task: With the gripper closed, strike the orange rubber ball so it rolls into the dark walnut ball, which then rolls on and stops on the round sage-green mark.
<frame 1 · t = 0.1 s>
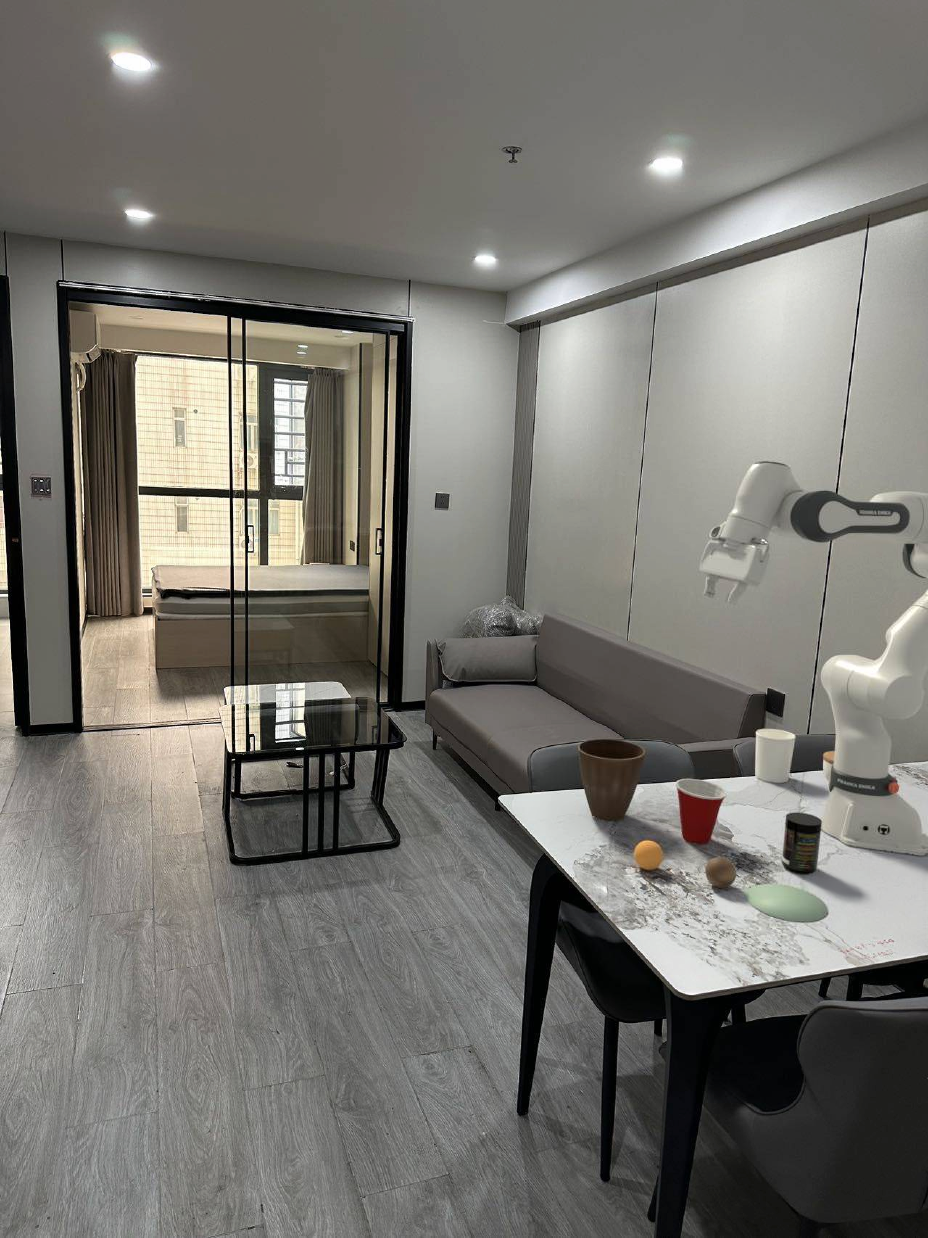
hand: (718, 600, 176), 52 cm above the table, tool tilted 20°, fingers open, 8 cm apart
plant pot: (607, 816, 196), on the table
plastic cup: (697, 840, 184), on the table
orange ball: (648, 855, 169), on the table
walnut ball: (720, 872, 162), on the table
lidded jar: (842, 786, 222), on the table
white tapered cylinder: (771, 778, 226), on the table
supplement container: (798, 869, 172), on the table
sage mark: (786, 902, 157), on the table
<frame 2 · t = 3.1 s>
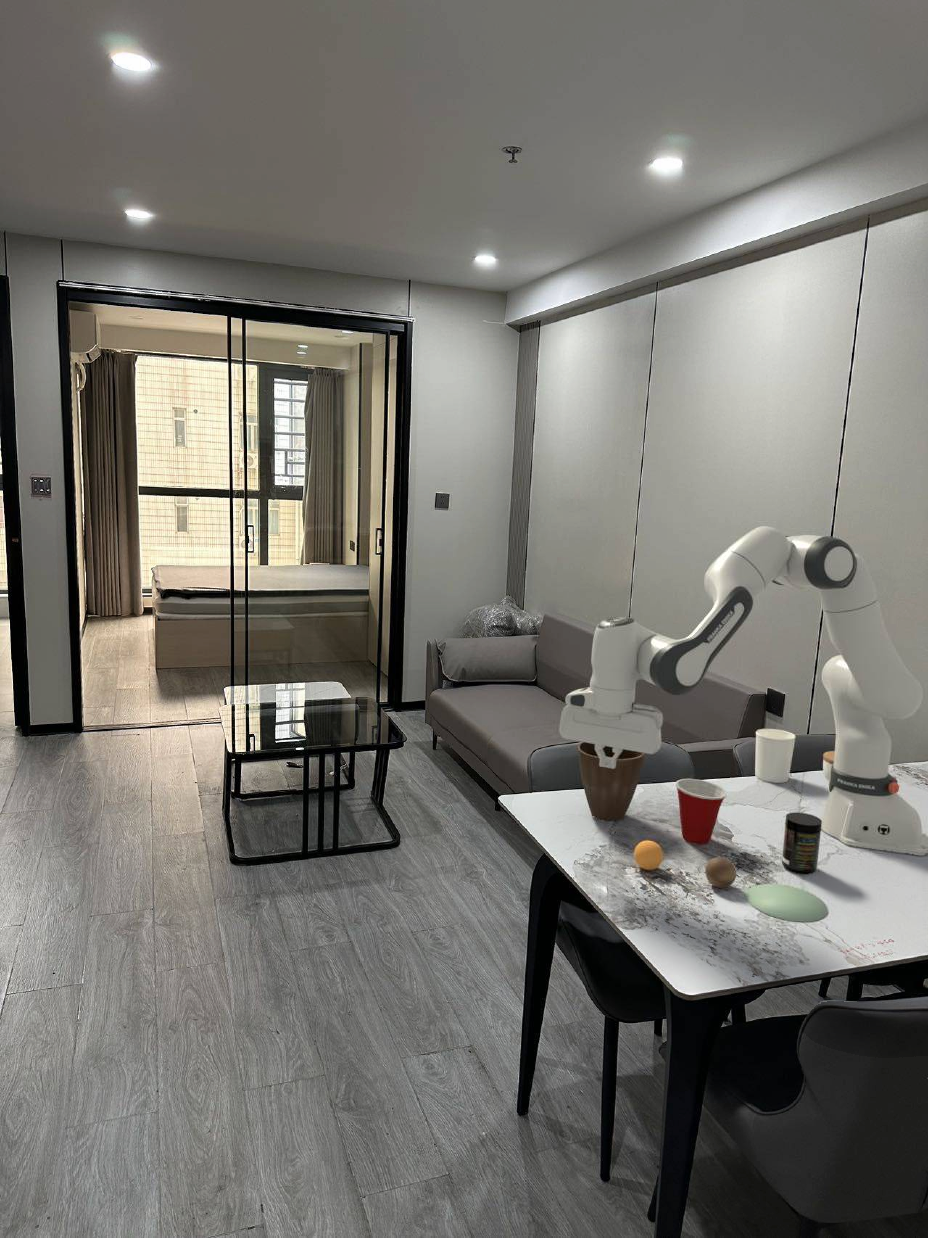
hand: (607, 766, 171), 19 cm above the table, tool pointing down, fingers closed
nothing on the table moved.
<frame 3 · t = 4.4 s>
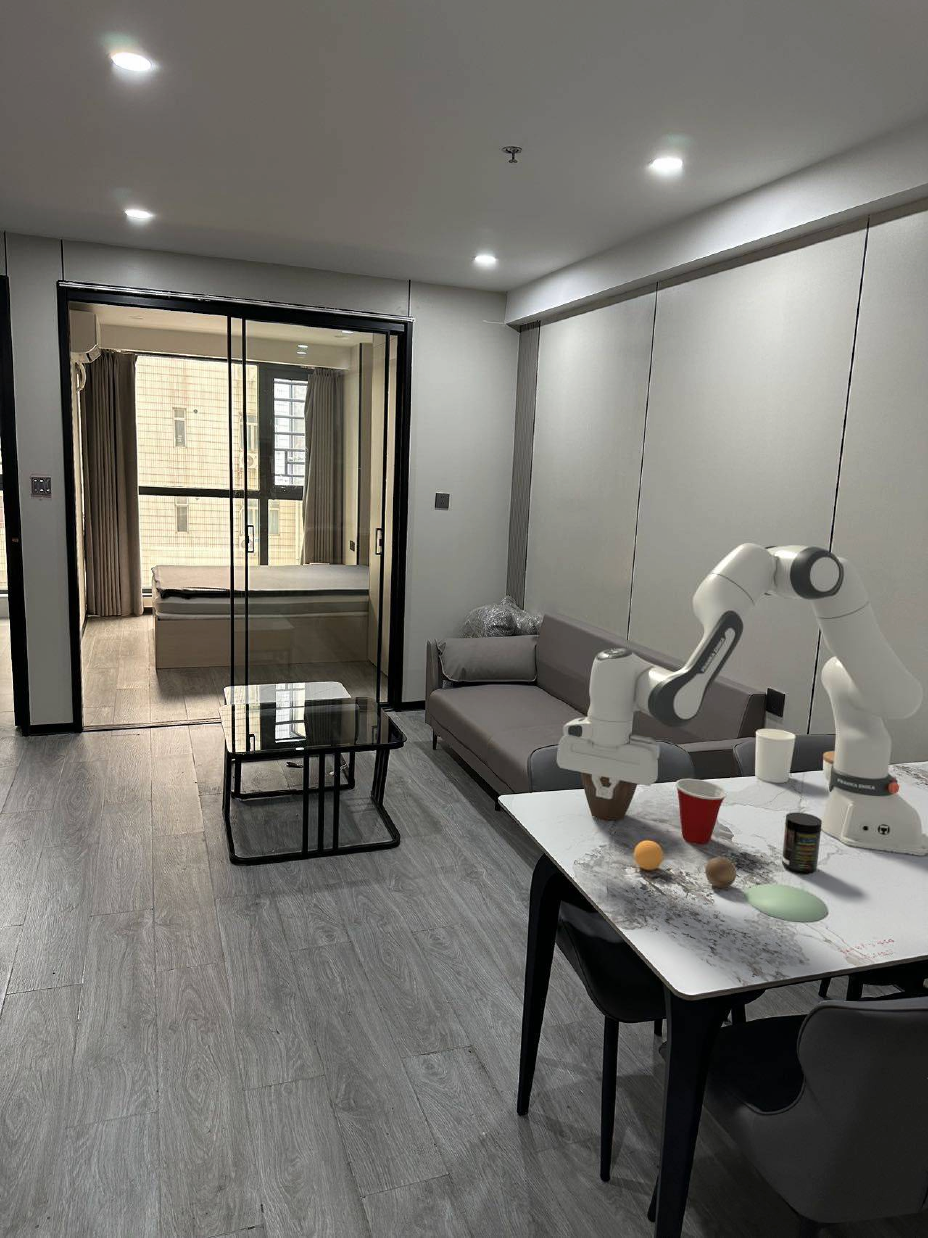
hand: (604, 797, 172), 13 cm above the table, tool pointing down, fingers closed
nothing on the table moved.
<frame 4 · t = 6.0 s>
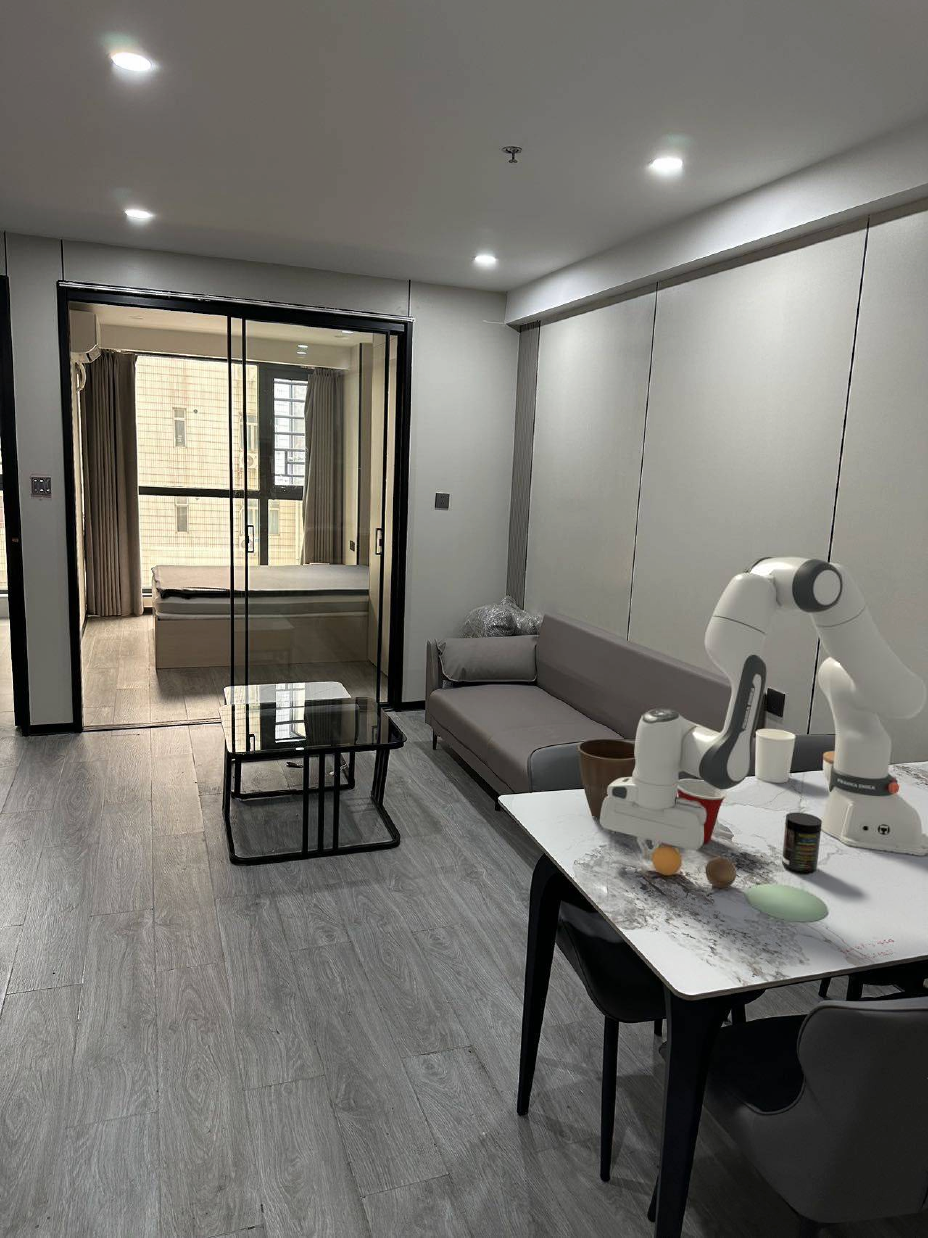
hand: (648, 859, 169), 2 cm above the table, tool pointing down, fingers closed
orange ball: (666, 860, 167), on the table, touching gripper
everything else where it was.
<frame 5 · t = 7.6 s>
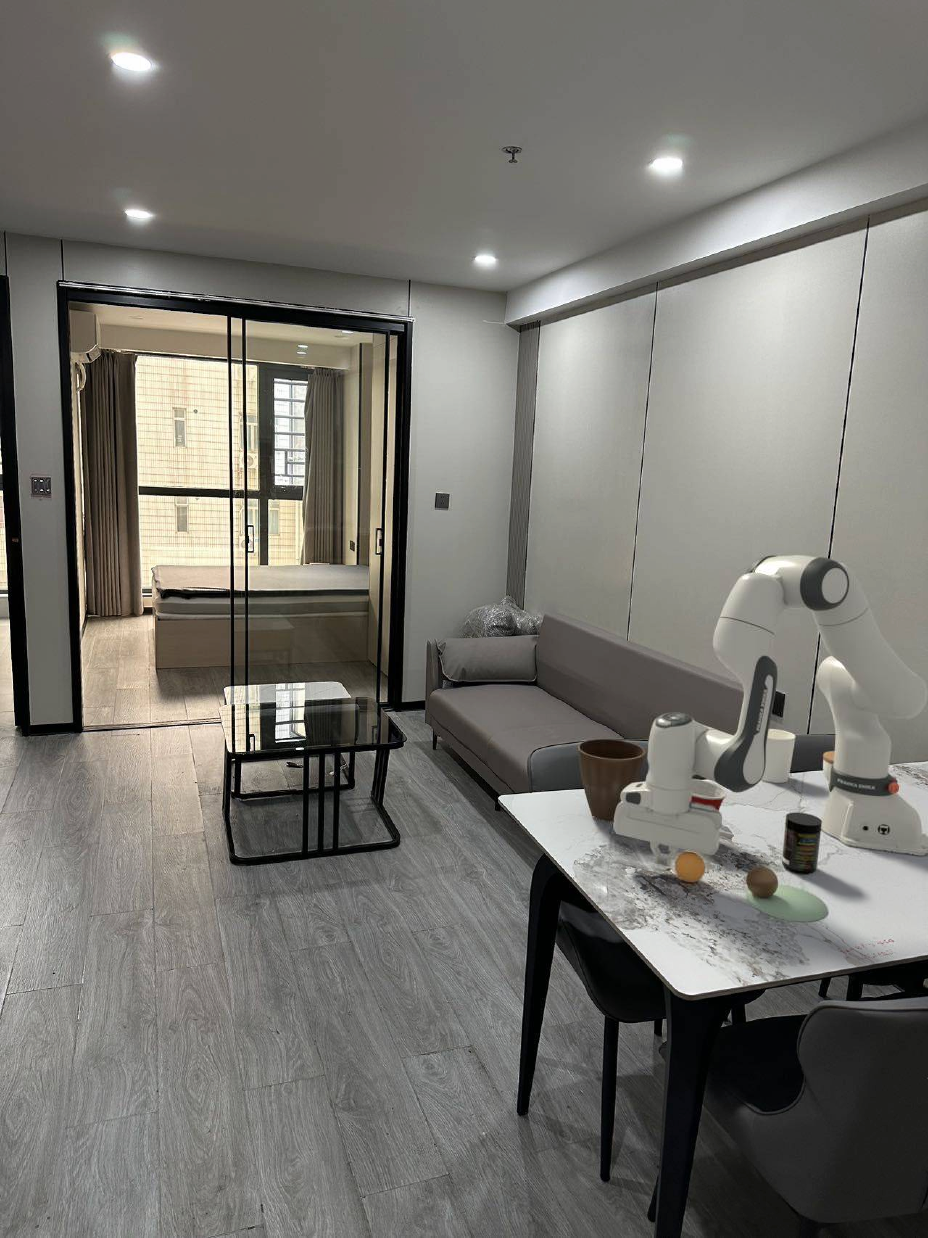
hand: (663, 864, 167), 2 cm above the table, tool pointing down, fingers closed
orange ball: (690, 867, 164), on the table
walnut ball: (762, 881, 159), on the table
everything else where it was.
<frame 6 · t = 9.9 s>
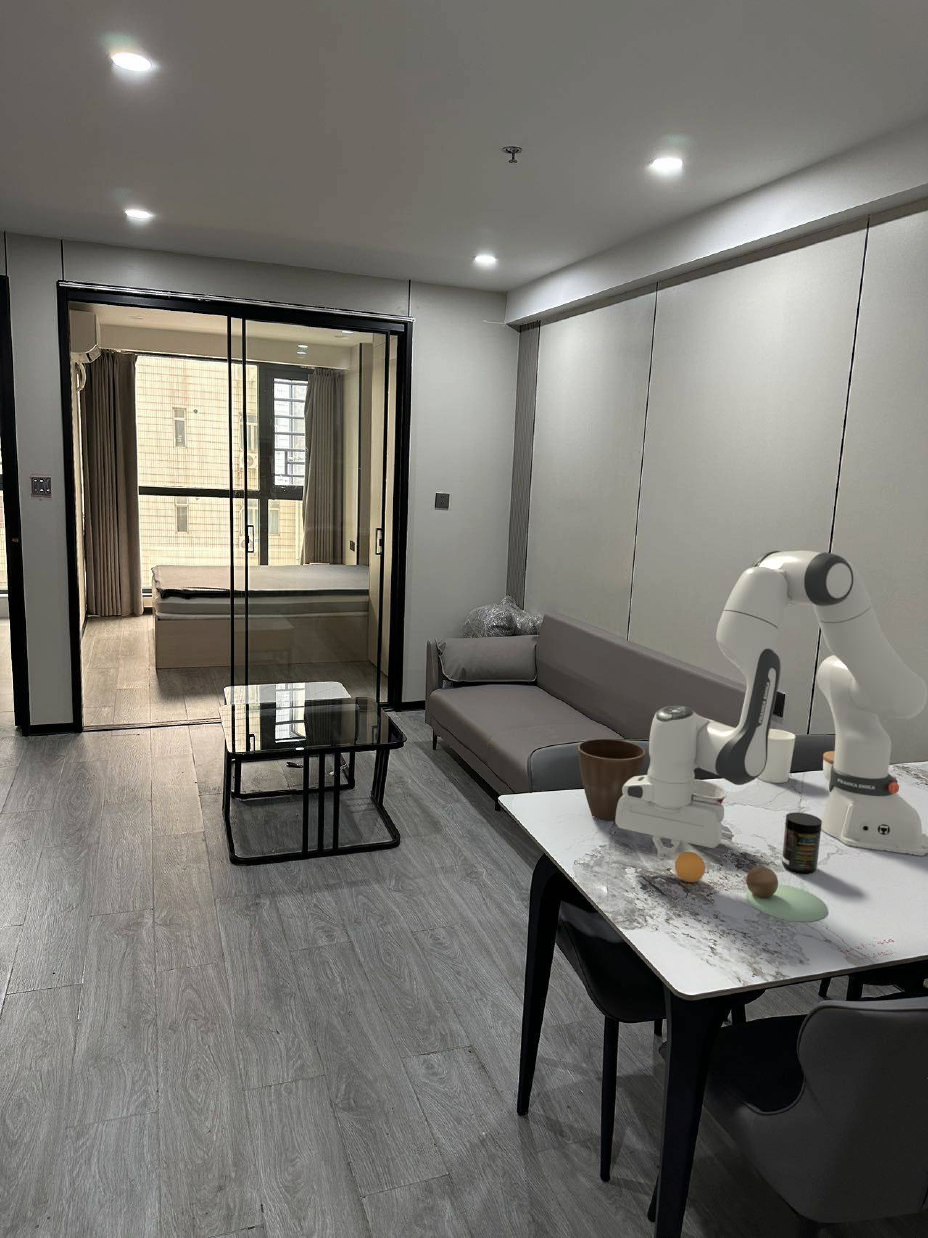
hand: (665, 857, 167), 3 cm above the table, tool pointing down, fingers closed
nothing on the table moved.
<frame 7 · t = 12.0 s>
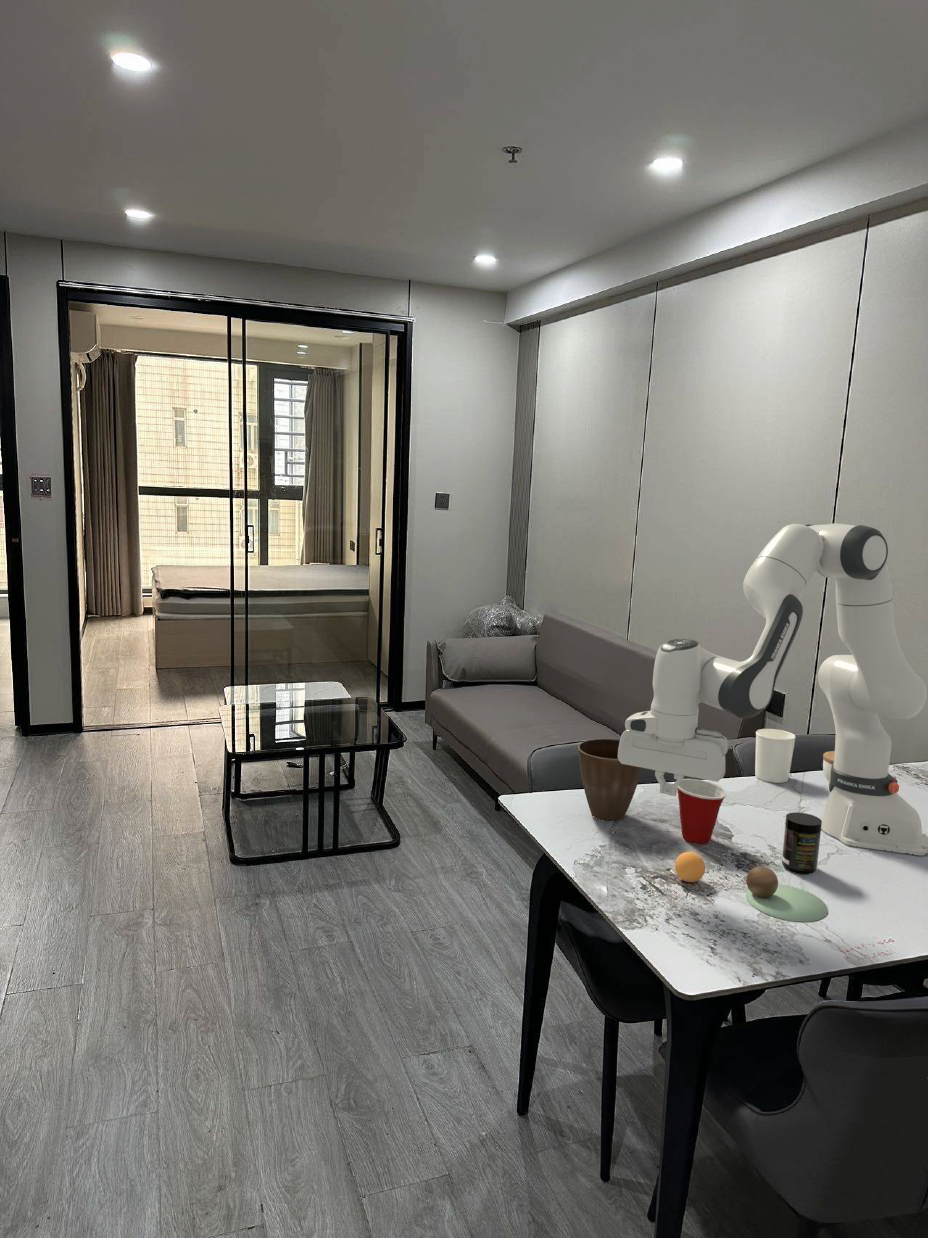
hand: (668, 793, 165), 16 cm above the table, tool pointing down, fingers closed
nothing on the table moved.
at the end: walnut ball 4.5 cm from the sage mark (horizontally); walnut ball never touched the robot; orange ball first touched walnut ball at 6.2 s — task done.
